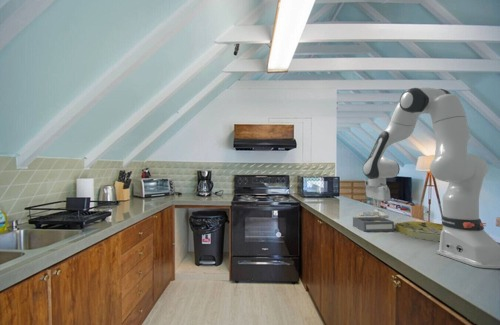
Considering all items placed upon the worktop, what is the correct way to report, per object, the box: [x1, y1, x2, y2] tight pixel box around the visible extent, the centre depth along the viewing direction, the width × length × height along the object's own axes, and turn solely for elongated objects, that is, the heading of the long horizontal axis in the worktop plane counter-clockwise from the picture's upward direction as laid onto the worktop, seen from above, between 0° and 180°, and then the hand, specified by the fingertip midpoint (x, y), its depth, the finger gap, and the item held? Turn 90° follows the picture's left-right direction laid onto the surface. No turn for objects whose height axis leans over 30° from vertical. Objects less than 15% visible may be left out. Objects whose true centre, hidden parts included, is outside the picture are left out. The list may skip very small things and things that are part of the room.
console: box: [352, 215, 395, 233], centre depth 145 cm, size 14×16×5 cm
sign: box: [394, 220, 443, 242], centre depth 133 cm, size 28×3×30 cm
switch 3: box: [373, 208, 389, 219], centre depth 145 cm, size 8×4×2 cm, turn 2°
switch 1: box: [356, 211, 371, 217], centre depth 145 cm, size 8×4×2 cm, turn 2°
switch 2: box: [366, 211, 380, 217], centre depth 145 cm, size 8×4×2 cm, turn 2°
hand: (377, 207), depth 148 cm, fingers closed
